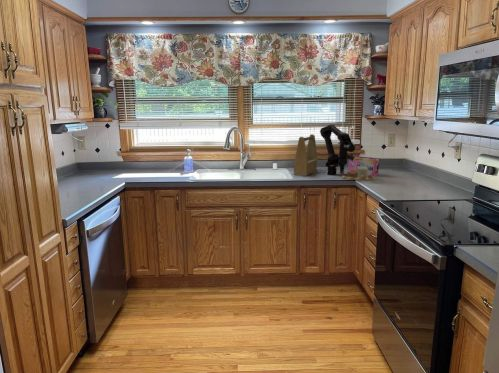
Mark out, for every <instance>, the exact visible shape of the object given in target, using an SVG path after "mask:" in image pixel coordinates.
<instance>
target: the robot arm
mask: <svg viewBox="0 0 499 373" xmlns="http://www.w3.org/2000/svg"><path fill="white" fill-rule="evenodd" d="M319 133H320V136H321V137H322V138H323V139H324V142H325V147H326V149H327V150H326V151H327V154H328V156H327V161H326V163H325V167H327V173H326V174H327V175H328V176H329V175H330V176H336V175H337V173H338V172H337V170H338V169H337V167H339V170H340V169H341V172H343V169H344V170H345V166H346V165H347V164H348V160H349V159H350V160H351V161H353V160H354V158H355V157H354V156H355V155H354V154H353V152H355V150H356V146H355V144H354V142H353V141H352V139H351V137H350V134H349V133H347V132H344V131H342V130H341V129H339V128H338V127H337V126H335V124H328V125H326V126H324V127H321V128H320V130H319ZM332 134H333V135H335V136H336V137H337V140H338V141H339V142H338V143H337V144H338V145H339V149H338V150H339V151H338V154H336V153H335V148H334V146H333V141H332V137H331V136H332ZM349 152H350V153H349Z"/></svg>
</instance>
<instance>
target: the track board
mask: <svg viewBox="0 0 499 373" xmlns="http://www.w3.org/2000/svg"><path fill="white" fill-rule="evenodd" d="M341 178H342V180H359V181H374V178H373V176H372V175H368V178H366V175H359V178H358V177H354V176H348V175H341Z"/></svg>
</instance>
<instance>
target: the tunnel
mask: <svg viewBox="0 0 499 373" xmlns="http://www.w3.org/2000/svg"><path fill="white" fill-rule="evenodd" d="M357 173H358V178H359V175H366V178H368V168H367V167H362V166H357Z"/></svg>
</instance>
